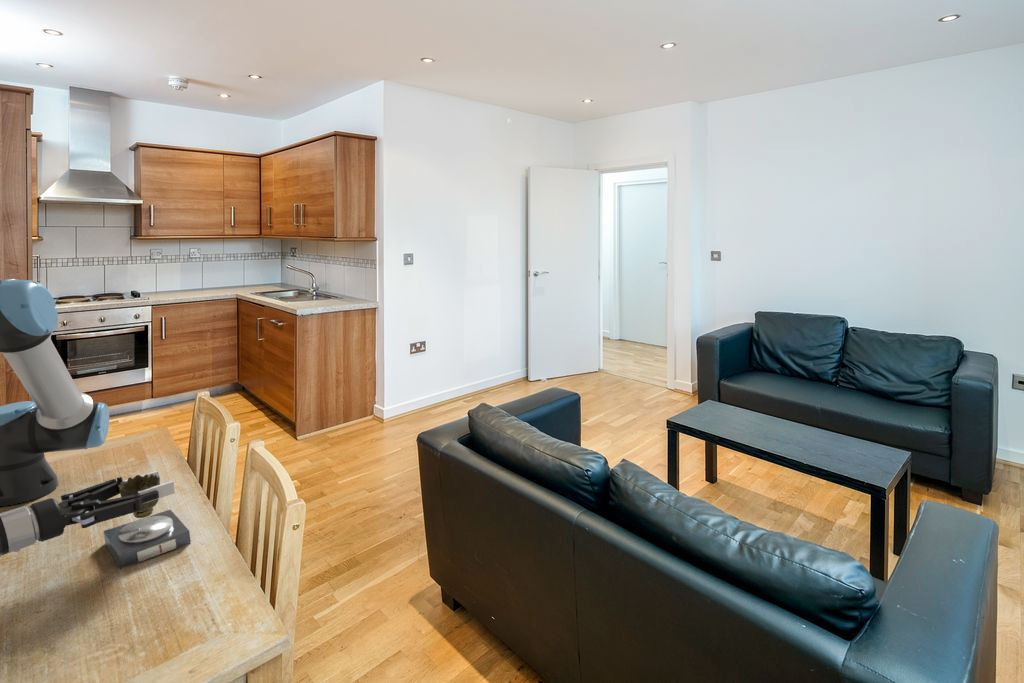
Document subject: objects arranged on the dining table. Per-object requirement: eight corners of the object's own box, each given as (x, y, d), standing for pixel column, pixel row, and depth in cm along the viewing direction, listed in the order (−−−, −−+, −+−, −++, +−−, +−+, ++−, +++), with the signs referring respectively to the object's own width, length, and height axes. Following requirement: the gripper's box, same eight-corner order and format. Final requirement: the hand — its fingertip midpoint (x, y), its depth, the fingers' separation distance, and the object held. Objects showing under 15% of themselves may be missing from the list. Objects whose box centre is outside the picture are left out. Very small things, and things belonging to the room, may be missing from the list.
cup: (143, 526, 115) (139, 491, 113) (114, 521, 116) (109, 487, 115) (172, 508, 122) (167, 475, 120) (143, 504, 124) (139, 471, 122)
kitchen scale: (105, 543, 121) (102, 527, 120) (171, 521, 130) (169, 506, 129) (121, 570, 111) (119, 553, 111) (192, 544, 121) (190, 528, 120)
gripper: (22, 524, 111) (149, 483, 129) (51, 561, 99) (187, 511, 117) (16, 489, 109) (145, 454, 127) (44, 524, 97) (183, 479, 115)
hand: (165, 481), depth 122 cm, fingers closed on cup, 7 cm apart
